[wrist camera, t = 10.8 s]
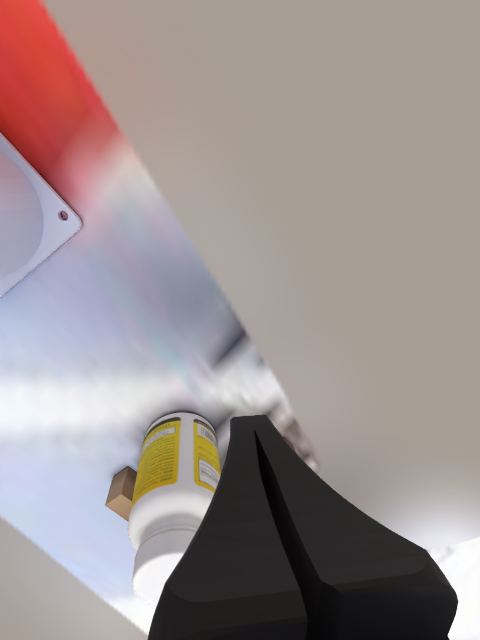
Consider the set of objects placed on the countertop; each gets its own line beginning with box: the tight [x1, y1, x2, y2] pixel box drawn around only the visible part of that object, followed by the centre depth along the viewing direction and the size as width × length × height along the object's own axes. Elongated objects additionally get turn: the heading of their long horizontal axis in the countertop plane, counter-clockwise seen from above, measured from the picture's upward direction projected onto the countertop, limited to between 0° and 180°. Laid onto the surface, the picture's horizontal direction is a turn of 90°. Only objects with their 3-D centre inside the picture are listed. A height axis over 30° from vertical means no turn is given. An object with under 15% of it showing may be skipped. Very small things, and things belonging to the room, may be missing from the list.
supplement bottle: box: [128, 413, 221, 606], centre depth 20 cm, size 5×5×10 cm
